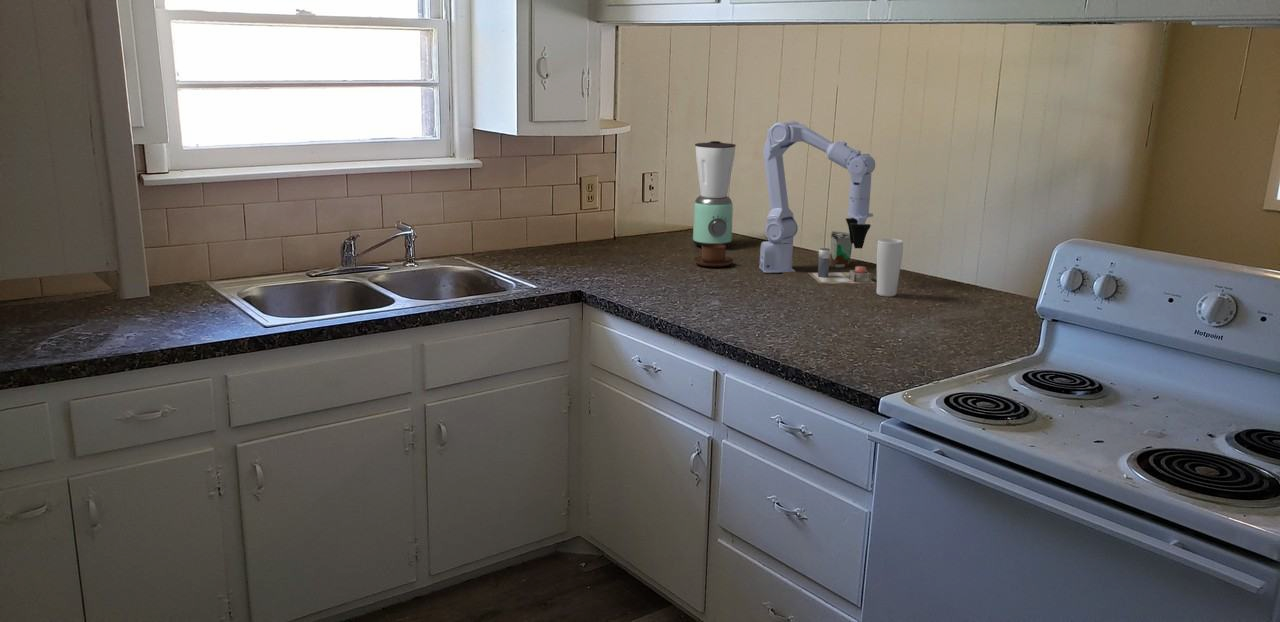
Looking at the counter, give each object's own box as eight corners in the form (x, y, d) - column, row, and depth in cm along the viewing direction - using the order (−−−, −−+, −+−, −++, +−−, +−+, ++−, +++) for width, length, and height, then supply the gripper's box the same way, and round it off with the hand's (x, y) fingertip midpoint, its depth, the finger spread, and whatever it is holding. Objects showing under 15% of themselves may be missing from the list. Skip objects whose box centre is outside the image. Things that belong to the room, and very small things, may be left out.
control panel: (820, 285, 277) (820, 275, 277) (807, 274, 291) (808, 264, 290) (875, 284, 279) (876, 274, 278) (860, 274, 292) (860, 264, 292)
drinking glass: (884, 298, 263) (889, 243, 259) (868, 293, 269) (872, 239, 265) (904, 296, 266) (908, 241, 262) (887, 291, 272) (891, 237, 268)
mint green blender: (738, 250, 326) (742, 143, 317) (699, 251, 323) (702, 143, 314) (722, 240, 344) (725, 138, 335) (685, 240, 341) (687, 138, 332)
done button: (856, 275, 280) (857, 268, 279) (853, 273, 283) (853, 266, 282) (866, 275, 280) (867, 268, 280) (863, 272, 283) (864, 266, 283)
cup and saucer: (688, 262, 307) (689, 243, 305) (724, 260, 310) (725, 241, 308) (701, 270, 296) (702, 250, 294) (738, 268, 299) (739, 248, 297)
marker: (819, 277, 284) (820, 250, 282) (816, 275, 287) (817, 248, 285) (829, 277, 284) (831, 250, 282) (826, 275, 287) (828, 248, 285)
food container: (856, 271, 297) (858, 238, 294) (836, 270, 297) (838, 238, 294) (848, 262, 309) (851, 231, 306) (829, 262, 309) (831, 231, 306)
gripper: (877, 201, 269) (874, 250, 273) (870, 194, 283) (866, 241, 287) (851, 201, 270) (848, 250, 273) (845, 194, 284) (842, 240, 287)
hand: (856, 245), depth 280 cm, fingers open, 7 cm apart
